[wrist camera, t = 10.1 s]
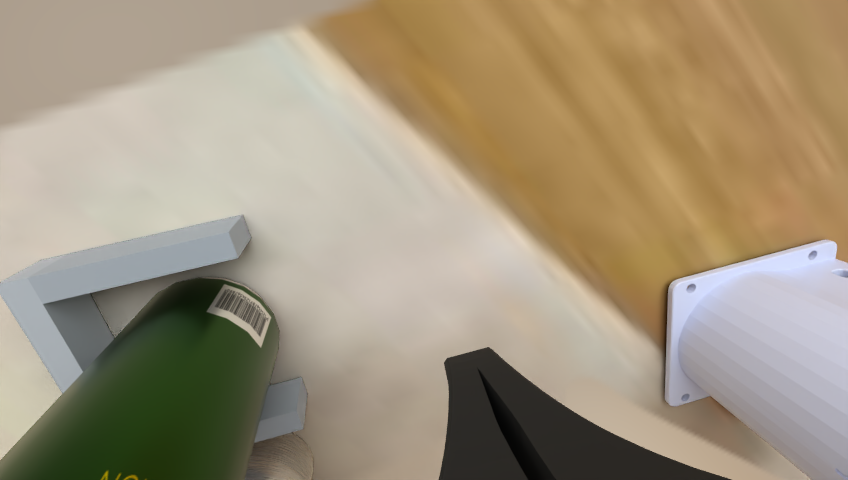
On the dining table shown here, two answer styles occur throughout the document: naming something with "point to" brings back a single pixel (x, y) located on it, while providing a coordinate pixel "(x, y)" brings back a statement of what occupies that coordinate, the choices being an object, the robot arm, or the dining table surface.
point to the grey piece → (115, 266)
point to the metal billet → (280, 459)
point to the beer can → (163, 394)
